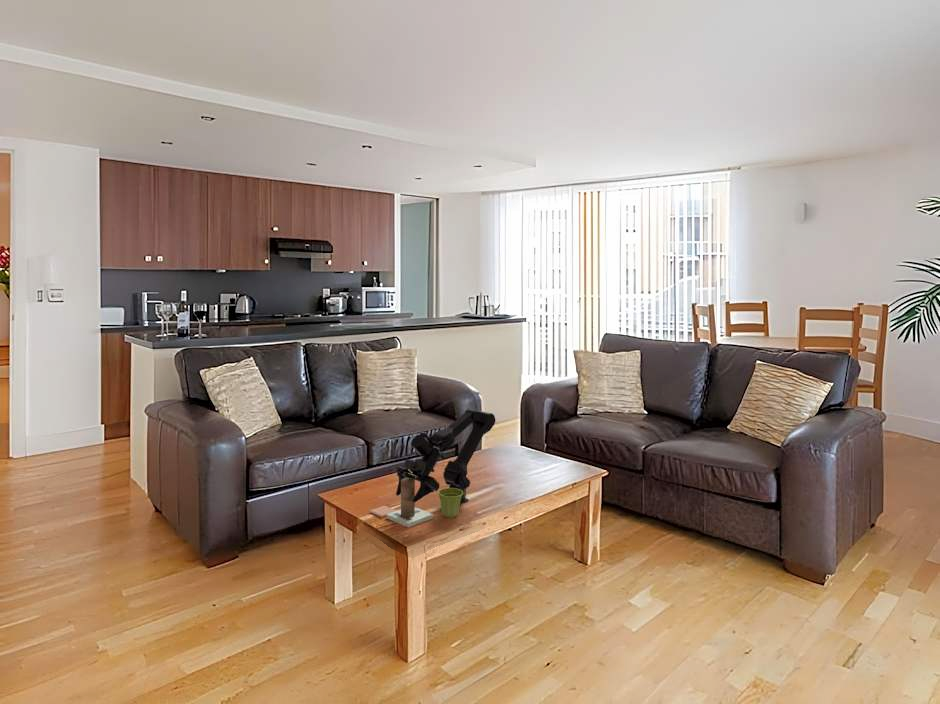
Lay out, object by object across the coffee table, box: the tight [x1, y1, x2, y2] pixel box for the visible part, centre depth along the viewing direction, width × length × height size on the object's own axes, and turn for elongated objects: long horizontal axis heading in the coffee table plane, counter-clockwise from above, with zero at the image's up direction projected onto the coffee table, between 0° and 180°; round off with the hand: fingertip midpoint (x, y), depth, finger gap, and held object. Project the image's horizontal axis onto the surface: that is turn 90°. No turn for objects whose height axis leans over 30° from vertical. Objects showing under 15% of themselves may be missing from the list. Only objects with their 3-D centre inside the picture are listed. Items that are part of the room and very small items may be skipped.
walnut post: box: [400, 478, 416, 517], centre depth 231 cm, size 5×5×13 cm
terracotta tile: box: [369, 505, 397, 518], centre depth 238 cm, size 7×7×1 cm
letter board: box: [386, 506, 434, 528], centre depth 233 cm, size 12×12×2 cm
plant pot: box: [437, 487, 463, 518], centre depth 236 cm, size 9×9×9 cm
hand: (405, 498), depth 230 cm, fingers open, 9 cm apart
